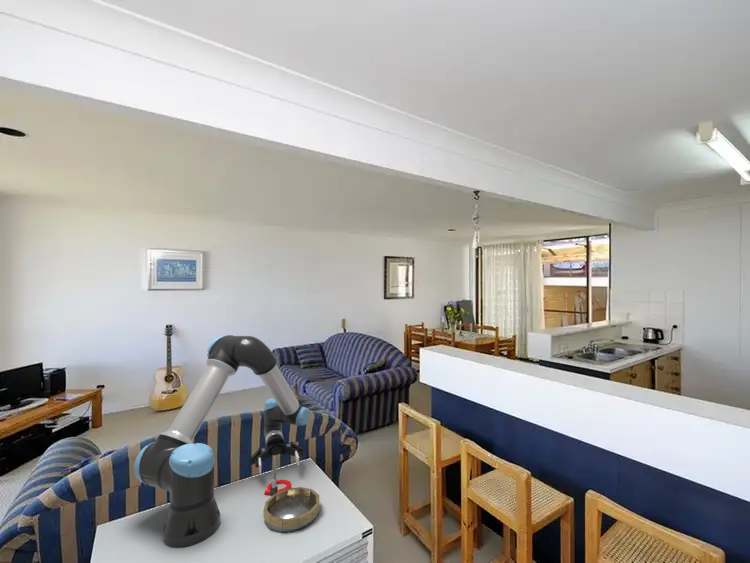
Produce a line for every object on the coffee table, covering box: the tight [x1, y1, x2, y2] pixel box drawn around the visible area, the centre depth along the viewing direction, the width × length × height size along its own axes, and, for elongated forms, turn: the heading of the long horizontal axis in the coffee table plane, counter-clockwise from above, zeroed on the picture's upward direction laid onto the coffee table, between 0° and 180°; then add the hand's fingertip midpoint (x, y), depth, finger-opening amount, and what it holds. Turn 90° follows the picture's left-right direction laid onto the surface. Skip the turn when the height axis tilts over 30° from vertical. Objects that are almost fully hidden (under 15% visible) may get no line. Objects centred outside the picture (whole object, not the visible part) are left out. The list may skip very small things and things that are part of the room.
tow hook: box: [263, 455, 292, 496], centre depth 123 cm, size 8×13×9 cm
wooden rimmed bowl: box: [262, 486, 321, 534], centre depth 108 cm, size 17×17×4 cm
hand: (279, 465), depth 125 cm, fingers open, 13 cm apart
